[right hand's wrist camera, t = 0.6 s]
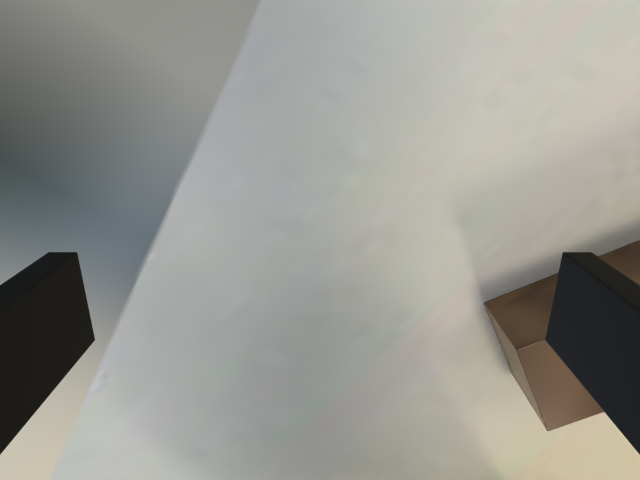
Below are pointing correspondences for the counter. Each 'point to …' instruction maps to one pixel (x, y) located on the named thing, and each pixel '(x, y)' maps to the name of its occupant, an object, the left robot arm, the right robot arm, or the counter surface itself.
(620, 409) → the right robot arm
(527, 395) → the long beam
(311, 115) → the counter surface
